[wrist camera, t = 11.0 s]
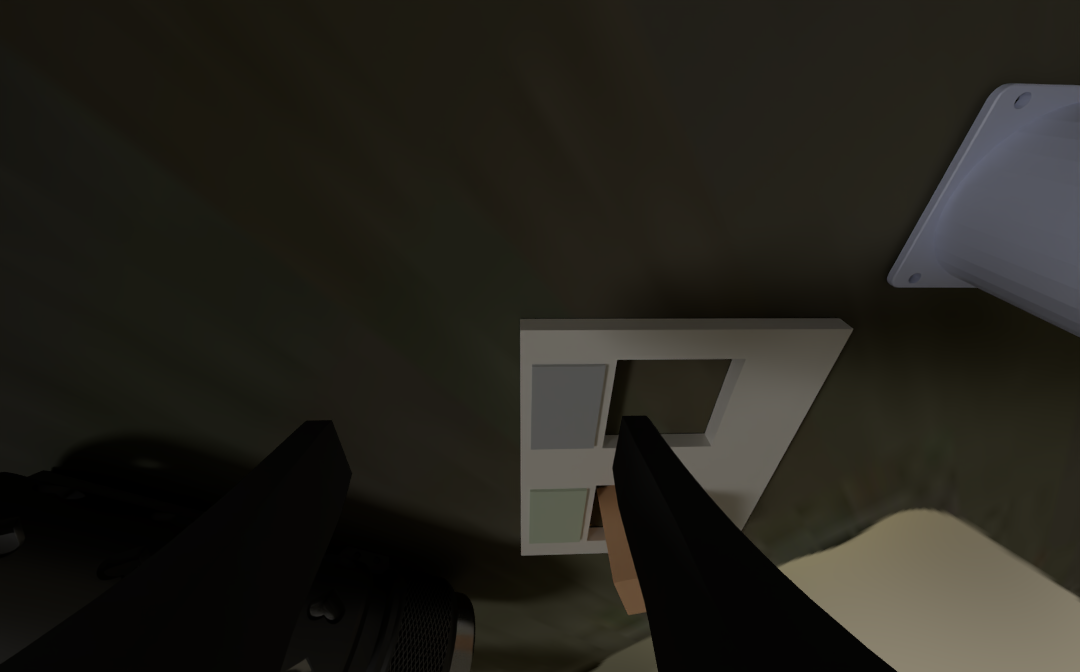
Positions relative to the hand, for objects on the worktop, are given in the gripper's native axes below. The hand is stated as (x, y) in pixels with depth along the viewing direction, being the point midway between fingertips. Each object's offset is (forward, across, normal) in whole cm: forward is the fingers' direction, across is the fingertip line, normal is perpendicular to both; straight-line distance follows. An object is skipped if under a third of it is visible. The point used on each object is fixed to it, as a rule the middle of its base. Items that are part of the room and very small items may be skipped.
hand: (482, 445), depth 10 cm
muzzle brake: (+10, +16, +20) cm, 27 cm away
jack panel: (+9, -9, +12) cm, 18 cm away
